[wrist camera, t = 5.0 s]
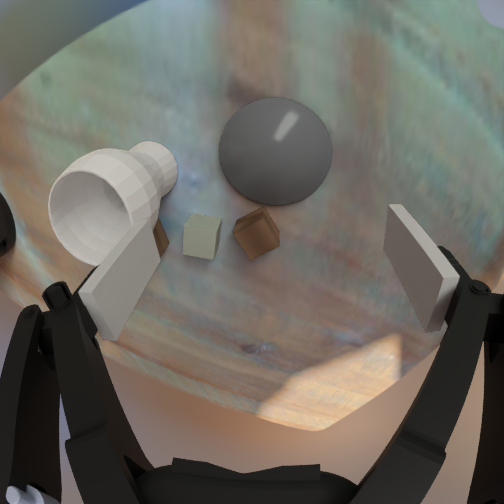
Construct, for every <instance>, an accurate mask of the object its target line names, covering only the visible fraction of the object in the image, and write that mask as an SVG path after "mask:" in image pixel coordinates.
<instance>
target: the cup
mask: <svg viewBox="0 0 504 504" xmlns="http://www.w3.org/2000/svg"><path fill="white" fill-rule="evenodd" d="M177 174H178V170H177V164H176V161H175V158H174V156H173V155H172V153H171V152H170V151H169V150H168V149H167V148H166V147H165V146H163V145H161V144H159V143H157V142H151V141H147V142H141V143H139V144H136V145H135V146H134V147H132V148H131V149H130V150H129V151H125V150H120V149H109V148H107V149H100V150H95V151H93V152H91V153H89V154H86V155H84V156H82V157H80V158H79V159H77V160H75V161H74V162H73V163H72V164H71V165H70V166H69V167H68V168H67V169H66V170H65V171H64V172H63V173H62V174H61V175H60V176H59V178H58V179H57V180H56V181H55V182H54V184H53V186H52V189H51V191H50V194H49V201H48V211H49V218H50V222H51V225H52V228H53V230H54V232H55V234H56V236H57V238H58V240H59V241H60V242H61V244H62V245H63V246H64V248H65V249H66V250H67V251H69V252H70V253H71V254H72V255H73V256H74V257H76V258H77V259H79V260H81V261H82V262H84V263H87V264H90V265H93V266H98V265H99V264H101V262H102V261H103V260H104V259H105V258H106V256H107V255H108V254H109V253H110V252H111V250H112V249H113V248H114V247H115V246H116V245H117V243H118V242H119V241H120V240H121V239H122V238H123V236H124V235H125V234H126V233H127V232H128V231H129V230H130V228H131V227H132V226H133V225H134V224H135V223H136V222H137V221H138V220H147V219H149V221H150V224H151V228H152V231H153V229H154V226H155V224H156V222H157V219H158V214H159V209H160V201H161V197H163V196H164V195H166V194H167V193H169V192H170V190H171V189H172V188H173V187H174V185H175V183H176V180H177Z"/></svg>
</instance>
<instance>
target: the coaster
mask: <svg viewBox="0 0 504 504" xmlns="http://www.w3.org/2000/svg"><path fill="white" fill-rule="evenodd" d="M219 153H220V161H221V165H222V168H223V171H224V173H225V175H226V177H227V179H228V180H229V181H230V183H231V184H232V185H233V186H234V187H235V189H237V190H238V191H239V192H240V193H241V194H243V195H244V196H246V197H247V198H249V199H251V200H254V201H256V202H259V203H263V204H268V205H285V204H290V203H294V202H297V201H300V200H302V199H304V198H306V197H307V196H309V195H310V194H312V193H313V192H314V191H315V190H316V189H317V188H318V187H319V186H320V185H321V184H322V182H323V181H324V179H325V178H326V176H327V174H328V172H329V169H330V166H331V161H332V143H331V139H330V135H329V133H328V130H327V128H326V127H325V125H324V123H323V122H322V120H321V119H320V118H319V117H318V116H317V115H316V114H315V113H314V112H313V111H312V110H311V109H309V108H308V107H306V106H304V105H303V104H301V103H299V102H296V101H294V100H290V99H286V98H264V99H260V100H257V101H254V102H252V103H249V104H248V105H246V106H244V107H243V108H241V109H240V110H239V111H238V112H236V113H235V114H234V115H233V116H232V118H231V119H230V120H229V122H228V123H227V125H226V127H225V129H224V131H223V133H222V136H221V141H220V149H219Z"/></svg>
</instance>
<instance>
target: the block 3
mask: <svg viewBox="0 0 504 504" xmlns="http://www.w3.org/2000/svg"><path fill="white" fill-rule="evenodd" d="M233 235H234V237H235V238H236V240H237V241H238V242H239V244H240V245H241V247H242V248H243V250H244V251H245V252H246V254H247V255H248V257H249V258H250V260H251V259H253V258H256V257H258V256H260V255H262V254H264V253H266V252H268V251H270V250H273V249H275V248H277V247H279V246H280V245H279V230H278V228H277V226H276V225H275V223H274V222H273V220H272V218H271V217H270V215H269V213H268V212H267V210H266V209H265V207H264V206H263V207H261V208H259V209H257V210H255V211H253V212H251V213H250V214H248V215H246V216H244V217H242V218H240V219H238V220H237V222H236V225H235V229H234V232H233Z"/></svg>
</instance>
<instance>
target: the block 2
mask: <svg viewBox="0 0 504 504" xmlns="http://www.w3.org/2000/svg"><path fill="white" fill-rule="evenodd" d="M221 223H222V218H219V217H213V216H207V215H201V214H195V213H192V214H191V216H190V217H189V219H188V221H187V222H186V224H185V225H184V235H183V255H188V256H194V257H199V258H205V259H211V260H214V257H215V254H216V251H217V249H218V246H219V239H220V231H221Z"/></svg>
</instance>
